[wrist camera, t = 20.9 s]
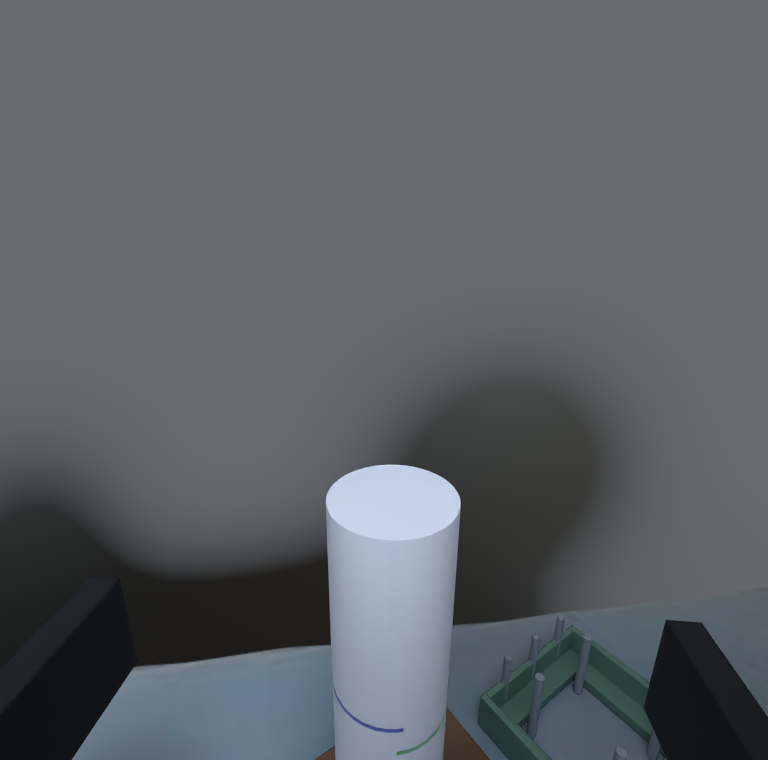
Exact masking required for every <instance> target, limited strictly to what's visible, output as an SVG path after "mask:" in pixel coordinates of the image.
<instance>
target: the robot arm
mask: <svg viewBox="0 0 768 760" xmlns="http://www.w3.org/2000/svg"><path fill="white" fill-rule="evenodd" d="M136 663H137V658H136V653H135V648H134V643H133V639H132V634H131V629H130V625H129V620H128V615H127V611H126V606H125V601H124V597H123V591H122V587H121V582H120V579H117V578H104V577H90V578H89V579H88V580H87V581H86V582H85V583H84V584H83V585H82V586H81V587H80V589H79V590H77V591H76V593H75V594H74V595H73V596H72V597H71V598H70V599H69V600H68V601H67V602H66V603H65V604H64V605H63V606H62V607H61V608H60V609H59V610H58V611H57V612H56V613H55V614H54V615H53V616H52V617H51V618H50V619H49V620H48V621H47V622H46V623H45V624H44V626H42V628H41V629H40V630H39V631H38V632H37V633H36V634H35V635H34V636H33V637H32V638H31V639H30V640H29V641H28V642H27V643H26V644H25V645H24V646H23V647H22V648H21V649H20V650H19V651H18V652H17V653H16V654H15V655H14V656H13V657H12V658H11V659H10V661H8V662H7V664H6V665H5V666H4V667H3V668H2V669H1V670H0V760H72V758H73V757H74V755H75V754H76V752H77V751H78V749H79V748H80V746H81V745H82V743H83V742H84V740H85V739H86V737H87V736H88V734H89V733H90V731H91V730H92V728H93V727H94V725H95V724H96V722H97V721H98V720H99V718H100V717H101V715H102V714H103V712H104V711H105V709H106V708H107V706H108V705H109V703H110V702H111V700H112V699H113V697H114V696H115V694H116V693H117V691H118V690H119V688H120V687H121V685H122V684H123V682H124V681H125V679H126V678H127V676H128V675H129V673H130V672H131V670H132V669H133V667H134V666H135V664H136ZM643 708H644V710H645V712H646V715H647V717H648V719H649V721H650V723H651V725H652V728H653V730H654V732H655V734H656V736H657V739H658V741H659V743H660V745H661V747H662V750H663V752H664V754H665V756H666V758H667V760H768V717H767V715H766V714H765V712H764V711H763V710H762V708H761V707H760V705H759V704H758V702H757V701H756V700H755V698H754V697H753V695H752V694H751V692H750V691H749V690H748V688H747V687H746V685H745V684H744V682H743V681H742V680H741V678H740V677H739V675H738V674H737V673H736V671H735V670H734V668H733V667H732V665H731V664H730V663H729V661H728V660H727V658H726V657H725V655H724V654H723V653H722V651H721V650H720V648H719V647H718V646H717V644H716V643H715V641H714V640H713V638H712V637H711V636H710V634H709V633H708V631H707V630H706V628H705V627H704V626H703V624H702V623H699V622H686V621H673V620H666V622H665V626H664V630H663V634H662V638H661V642H660V645H659V649H658V653H657V657H656V661H655V665H654V669H653V672H652V676H651V680H650V684H649V688H648V692H647V696H646V700H645V703H644V707H643Z"/></svg>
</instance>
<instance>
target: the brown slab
mask: <svg viewBox="0 0 768 760" xmlns="http://www.w3.org/2000/svg"><path fill="white" fill-rule="evenodd" d="M315 760H335V746H334V747H333V748H331V749H330V750H328V751H327V752H325V753H324V754H322V755H321V756H320V757H318V758H317V759H315ZM443 760H490V759H489V758H488V757H487V756H486V755H485V753H484V752H483V751H482V750H481V749H480V747H479V746H478V745H477V744H476V743H475V741H474V740H473V739H472V738H471V736H470V735H469V734H468V733H467V732H466V730H465V729H464V728H463V727H462V726H461V724H460V723H459V722H458V721H457V720H456V718H455V717H454V716H453V715H452V713H451V712H450V711H449V710H448V709H447V708H446V722H445V736H444V751H443Z"/></svg>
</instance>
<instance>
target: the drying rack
mask: <svg viewBox="0 0 768 760" xmlns="http://www.w3.org/2000/svg"><path fill="white" fill-rule="evenodd" d="M564 620H565V618H564V616H563V615H558V616H557V622H556V628H555V635H554V639H553V640H552V641H551V642H550V643H548V644H547V645H546V646H545V647H543V648H542V649H541V650H539V651H538V646H539V640H540V637H539V635H538V634H536V633H534V634H533V635H532V641H531V648H530V654H529V659H528V660H527V661H525V662H524V663H523V664H522V665H520V666H519V667H518V668H517V669H515V670H514V671H513V672H511V664H512V656H511V655H510V654H505V656H504V664H503V672H502V680H501V681H500V682H499V683H497V684H496V685H495V686H494V687H492V688H491V689H490V690H489V691H487V692H486V693H485V694H483V695H482V696H481V700H480V709H479V719H478V724H479V725H480V727H481V728H482V729H483V730H484V731H485V732H486V734H487V735H488V736H489V737H490V738H491V739H492V741H493V742H494V743H495V744H496V745H497V746H498V747H499V749H500V750H501V751H502V752H503V753H504V754H505V755H506V757H507V758H508V759H509V760H551V758H550V757H549V756H548V755H547V754H546V753H545V752H544V751H543V750H542V749H541V748H540V747H539V746H538V745H537V744H536V743H535V742H534V740H533V739H532V738H534V737H535V736H536V731H537V725H538V718H539V712H540V709H541V708H542V707H544V706H545V705H546V704H547V703H548V702H549V701H550V700H551V699H552V698H554V697H555V696H556V695H557V694H558V693H559V692H560V691H561V690H562V689H564V688H565V687H566V686H567V685H568V684H569V683H570V682H571V681H572V680H574V679H575V682H574V687H573V690H574V692H575V693H576V694H581V693H582V688H583V686H584V687H585V688H586V689H587V690H588V691H590V692H591V693H592V694H593V695H594V696H595V697H597V698H598V699H599V700H600V701H601V702H602V703H604V704H605V705H606V706H607V707H608V708H609V709H611V710H612V711H613V712H614V713H615V714H616V715H618V716H619V717H620V718H621V719H622V720H623V721H625V722H626V723H627V724H628V725H629V726H630V727H632V728H633V729H634V730H635V731H636V732H637V733H639V734H640V735H641V736H642V737H643V738H644V739H646V740H647V741H648V742H649V745H648V749H647V756H648V757H649V758H650V759H651V760H656V759H657V756H658V753H659V751H660V752H661V753H662V754H663V755H664V756H665V754H664V752H663V750H662V747H661V745H660V743H659V741H658V739H657V736H656V734H655V732H654V730H653V728H652V725H651V723H650V721H649V719H648V717H647V715H646V712H645V710H644V708H643V707H644V703H645V700H646V696H647V692H648V688H649V683H648V682H647V681H645V680H644V679H643V678H641V677H640V676H639V675H637V674H636V673H635V672H633V671H632V670H631V669H629V668H628V667H627V666H625V665H624V664H623V663H622V662H620V661H619V660H618V659H616V658H615V657H614V656H612V655H611V654H610V653H608V652H607V651H606V650H604V649H603V648H602V647H600V646H599V645H598V644H597V643H595V642H594V641H593V640H592V636H591V635H589V634H583V633H582V632H581V631H579V630H578V629H577V628H575V627H574V626H573V625H571V626H570V627H569V628H567V629H566V630H565V631H564V632H563V626H564ZM510 672H511V673H510ZM527 721H528V726H527V733H526V732H525V731H524V730H523V729H522V728H521V726H522V725H524V724H525V723H526V722H527ZM626 758H627V751H626V750H625V748H623V747H622V746H617V747H616V748H615V752H614V756H613V760H626ZM663 760H667V758H666V756H665V758H664V759H663Z"/></svg>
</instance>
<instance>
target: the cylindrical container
mask: <svg viewBox="0 0 768 760" xmlns="http://www.w3.org/2000/svg"><path fill="white" fill-rule="evenodd" d="M326 520H327V546H328V573H329V600H330V627H331V655H332V677H333V678H332V681H333V709H334V736H335V760H443V751H444V736H445V722H446V708H447V693H448V679H449V665H450V650H451V636H452V622H453V607H454V593H455V579H456V564H457V550H458V549H457V548H458V535H459V521H460V498H459V495H458V492H457V491H456V490H455V488H454V487H453V486H452V485H451V484H450V483H449V482H448V481H447V480H445V479H444V478H442V477H440V476H438V475H437V474H434V473H432V472H429V471H427V470H424V469H420V468H416V467H410V466H403V465H379V466H372V467H367V468H362V469H360V470H356V471H353V472H351V473H349V474H347V475H345V476H343V477H342V478H340V479H339V480H338V481H336V482H335V483H334V485H333V486H332V487H331V488H330V490H329V492H328V494H327V497H326Z"/></svg>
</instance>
